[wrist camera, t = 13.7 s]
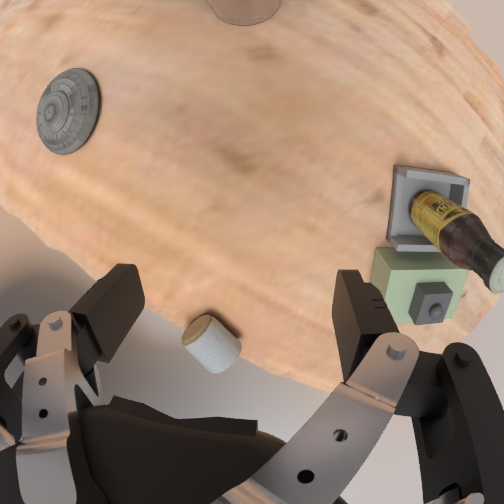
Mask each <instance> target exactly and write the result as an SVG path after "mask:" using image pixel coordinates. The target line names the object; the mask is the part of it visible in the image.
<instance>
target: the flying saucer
mask: <svg viewBox="0 0 504 504" xmlns="http://www.w3.org/2000/svg"><path fill="white" fill-rule="evenodd" d="M97 112H98V91H97V87H96V84H95V82H94V80H93V78H92V77H91V75H90V74H89V73H88V72H86V71H84V70H82V69H78V68H74V69H69V70H66V71H64V72H62V73H61V74H59V75H58V76H57V77H55V78H54V79H53V80H52V81H51V82H50V84H49V85H48V86H47V88H46V89H45V91H44V93H43V94H42V97H41V99H40V102H39V105H38V109H37V117H36V122H37V129H38V133H39V136H40V138H41V140H42V142H43V143H44V145H45V146H46V147H47V148H48V149H49V150H50V151H52V152H54V153H56V154H59V155H66V154H70V153H72V152H74V151H76V150H77V149H78V148H80V147H81V146H82V145H83V143H84V142H85V141H86V140H87V138H88V136H89V135H90V133H91V131H92V129H93V126H94V124H95V121H96V117H97Z"/></svg>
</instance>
